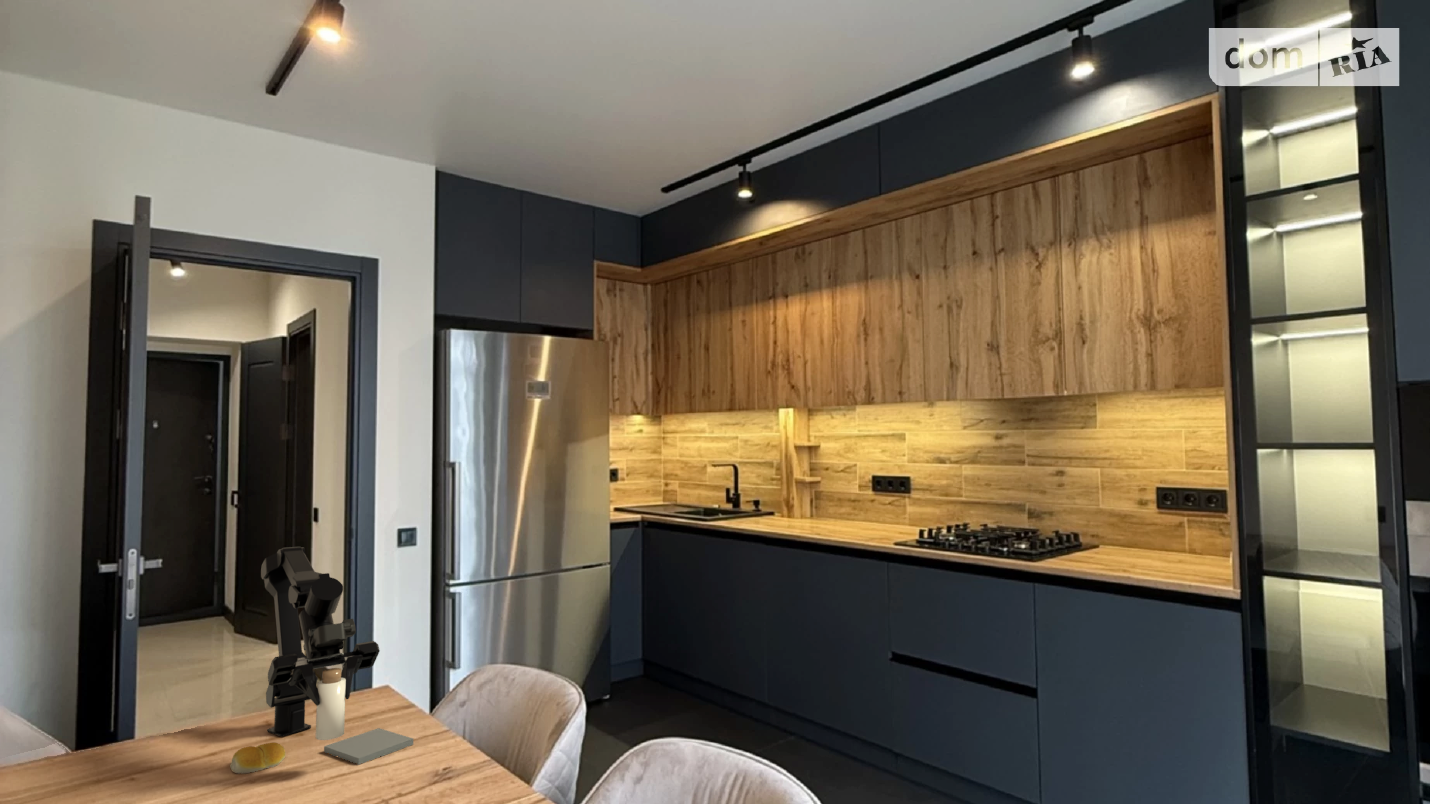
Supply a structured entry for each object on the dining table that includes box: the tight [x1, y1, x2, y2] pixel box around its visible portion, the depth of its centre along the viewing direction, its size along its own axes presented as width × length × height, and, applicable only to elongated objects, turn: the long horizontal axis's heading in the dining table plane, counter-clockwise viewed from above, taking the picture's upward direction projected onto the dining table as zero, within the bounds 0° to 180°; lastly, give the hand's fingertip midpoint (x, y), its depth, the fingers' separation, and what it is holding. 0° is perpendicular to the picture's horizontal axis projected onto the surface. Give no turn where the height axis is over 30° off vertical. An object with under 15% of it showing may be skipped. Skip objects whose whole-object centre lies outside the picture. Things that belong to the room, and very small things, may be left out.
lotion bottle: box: [315, 667, 346, 741], centre depth 141 cm, size 5×5×12 cm
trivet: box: [323, 727, 414, 766], centre depth 152 cm, size 12×12×1 cm
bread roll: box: [229, 742, 286, 774], centre depth 144 cm, size 8×9×4 cm
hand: (333, 701), depth 140 cm, fingers closed on lotion bottle, 5 cm apart
